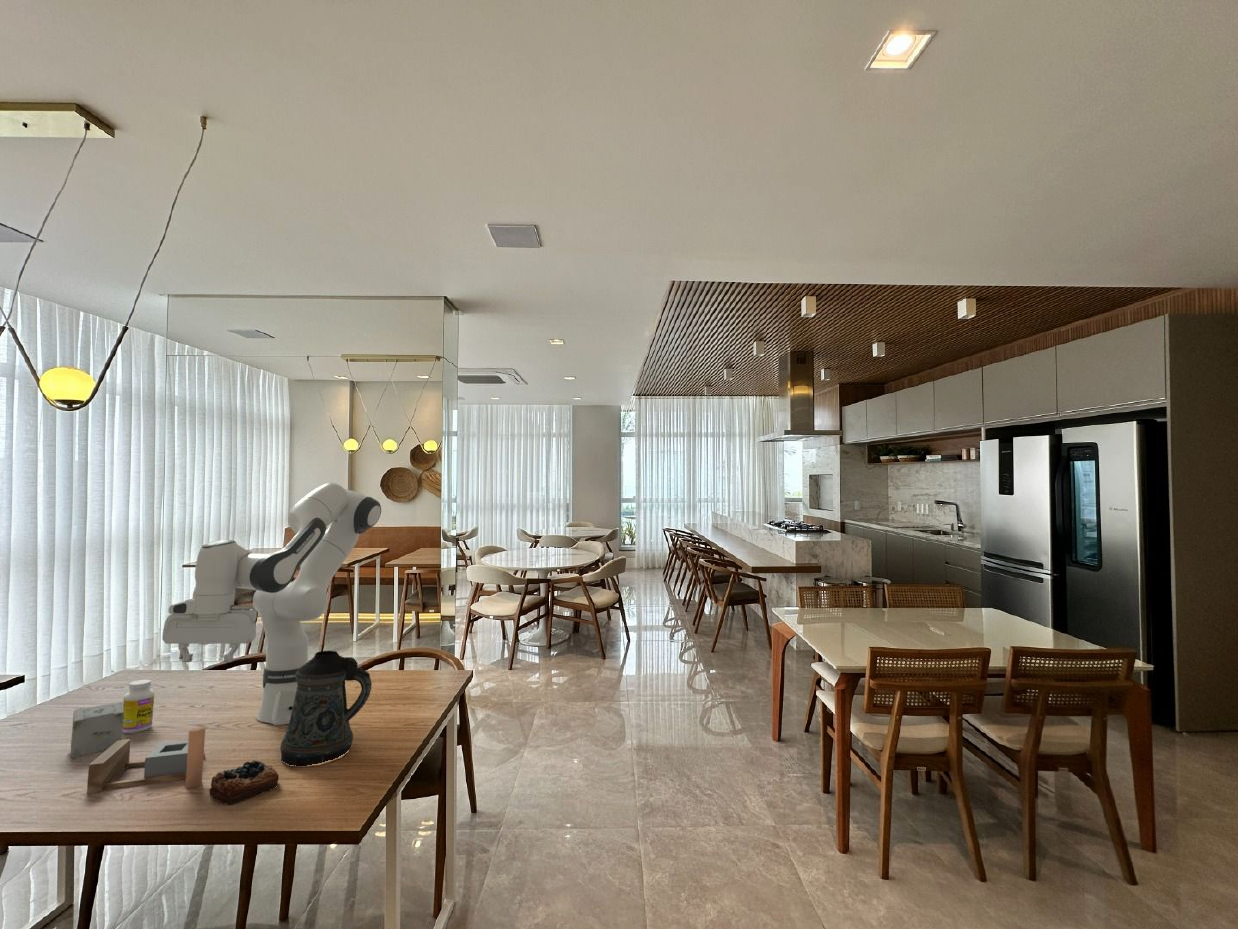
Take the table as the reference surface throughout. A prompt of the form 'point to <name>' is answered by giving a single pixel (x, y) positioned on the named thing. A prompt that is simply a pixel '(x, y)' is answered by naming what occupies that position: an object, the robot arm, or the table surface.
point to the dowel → (195, 757)
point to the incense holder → (96, 728)
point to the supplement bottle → (138, 707)
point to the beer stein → (323, 710)
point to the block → (167, 759)
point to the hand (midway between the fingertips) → (207, 661)
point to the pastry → (243, 782)
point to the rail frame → (119, 769)
